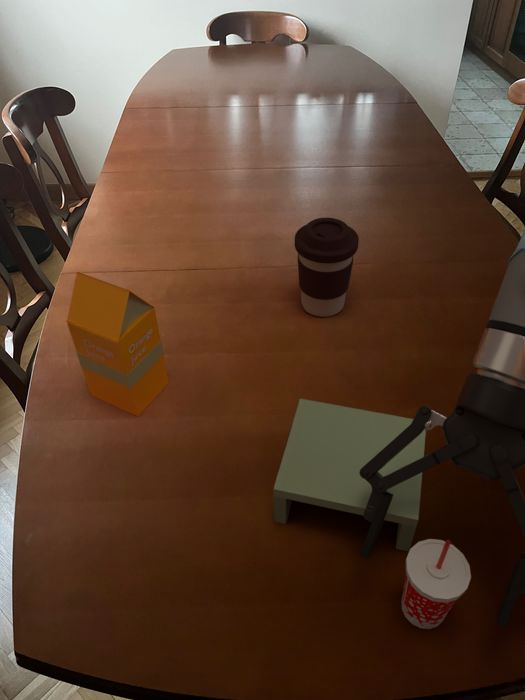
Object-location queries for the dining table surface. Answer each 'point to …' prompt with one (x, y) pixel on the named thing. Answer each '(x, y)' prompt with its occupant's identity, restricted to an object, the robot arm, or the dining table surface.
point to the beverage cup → (433, 581)
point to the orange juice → (117, 344)
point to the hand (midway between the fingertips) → (430, 586)
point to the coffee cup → (325, 264)
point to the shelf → (346, 464)
